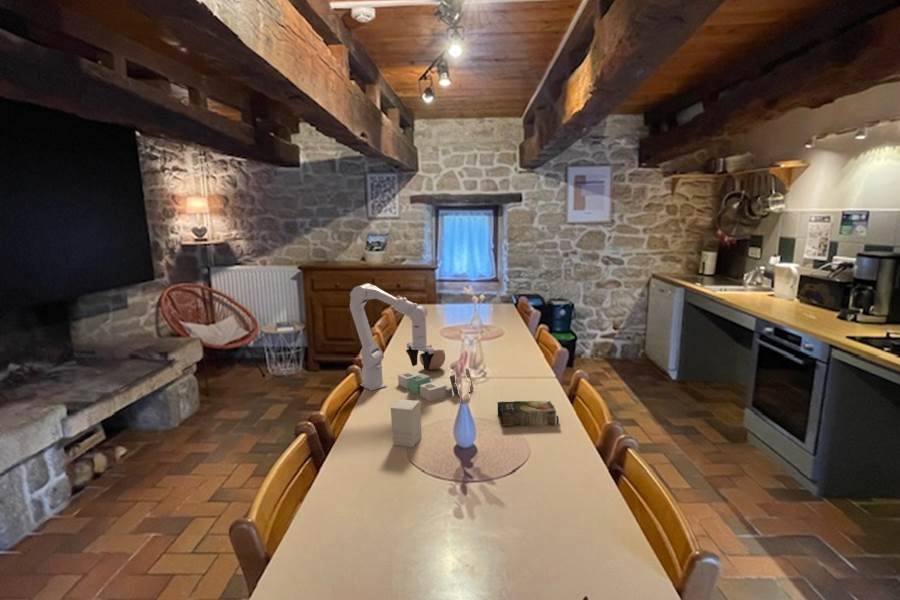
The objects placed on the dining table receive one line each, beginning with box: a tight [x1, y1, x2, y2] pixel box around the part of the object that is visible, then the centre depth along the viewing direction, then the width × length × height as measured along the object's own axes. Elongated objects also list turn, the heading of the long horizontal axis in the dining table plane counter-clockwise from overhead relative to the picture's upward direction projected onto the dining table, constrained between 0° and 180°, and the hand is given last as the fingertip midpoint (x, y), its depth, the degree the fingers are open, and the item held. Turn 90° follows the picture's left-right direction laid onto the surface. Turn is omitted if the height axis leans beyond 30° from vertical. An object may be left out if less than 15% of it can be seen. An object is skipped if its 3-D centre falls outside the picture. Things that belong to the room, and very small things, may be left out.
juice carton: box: [497, 400, 560, 427], centre depth 163 cm, size 20×10×6 cm, turn 91°
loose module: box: [409, 373, 431, 395], centre depth 193 cm, size 5×7×6 cm
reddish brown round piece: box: [419, 344, 446, 371], centre depth 219 cm, size 12×12×12 cm
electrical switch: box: [449, 368, 475, 397], centre depth 190 cm, size 9×5×9 cm, turn 141°
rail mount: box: [397, 370, 453, 402], centre depth 194 cm, size 26×10×5 cm, turn 37°
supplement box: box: [390, 398, 423, 448], centre depth 149 cm, size 7×7×13 cm
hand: (420, 367), depth 192 cm, fingers open, 7 cm apart
